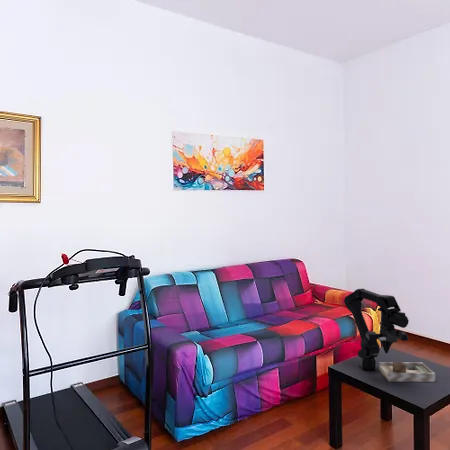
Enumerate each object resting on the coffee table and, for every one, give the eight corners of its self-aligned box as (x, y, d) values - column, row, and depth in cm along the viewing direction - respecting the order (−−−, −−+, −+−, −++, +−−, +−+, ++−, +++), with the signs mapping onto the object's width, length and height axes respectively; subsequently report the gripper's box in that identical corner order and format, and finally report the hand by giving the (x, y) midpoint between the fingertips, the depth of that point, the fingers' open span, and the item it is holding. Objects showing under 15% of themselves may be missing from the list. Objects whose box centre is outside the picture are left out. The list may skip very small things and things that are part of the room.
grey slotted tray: (388, 381, 192) (389, 373, 192) (378, 369, 205) (378, 362, 205) (434, 381, 192) (435, 373, 191) (421, 370, 205) (422, 362, 204)
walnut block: (396, 374, 193) (396, 365, 193) (392, 370, 198) (392, 362, 197) (405, 374, 193) (406, 365, 193) (401, 370, 198) (402, 362, 197)
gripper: (373, 327, 186) (372, 359, 187) (414, 327, 186) (412, 359, 187) (365, 319, 197) (364, 350, 198) (403, 319, 197) (402, 350, 198)
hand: (386, 353), depth 195 cm, fingers closed
